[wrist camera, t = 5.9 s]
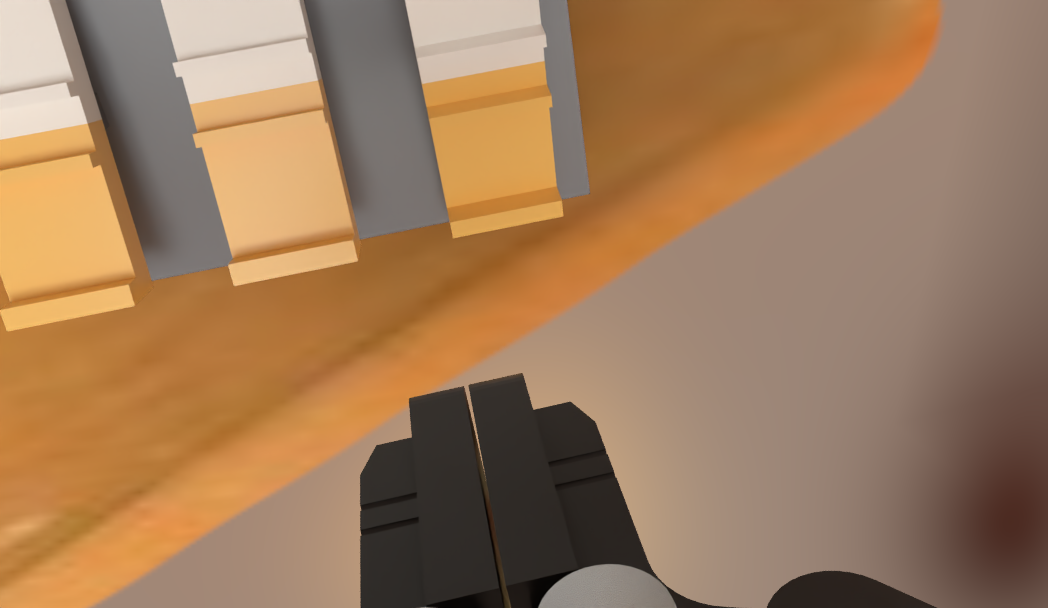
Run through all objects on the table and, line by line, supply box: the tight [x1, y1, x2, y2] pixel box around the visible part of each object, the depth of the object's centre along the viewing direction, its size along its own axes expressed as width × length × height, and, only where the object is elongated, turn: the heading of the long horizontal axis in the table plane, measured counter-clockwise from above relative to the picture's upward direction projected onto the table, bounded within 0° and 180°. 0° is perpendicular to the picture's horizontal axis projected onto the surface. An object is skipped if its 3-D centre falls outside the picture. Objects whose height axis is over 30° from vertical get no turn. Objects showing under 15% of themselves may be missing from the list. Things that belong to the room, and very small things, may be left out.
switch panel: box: [65, 0, 590, 281], centre depth 23 cm, size 10×15×5 cm
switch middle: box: [161, 0, 361, 286], centre depth 20 cm, size 8×3×2 cm, turn 8°
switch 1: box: [0, 0, 154, 331], centre depth 20 cm, size 8×3×2 cm, turn 8°
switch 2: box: [405, 0, 563, 238], centre depth 21 cm, size 8×3×2 cm, turn 9°
